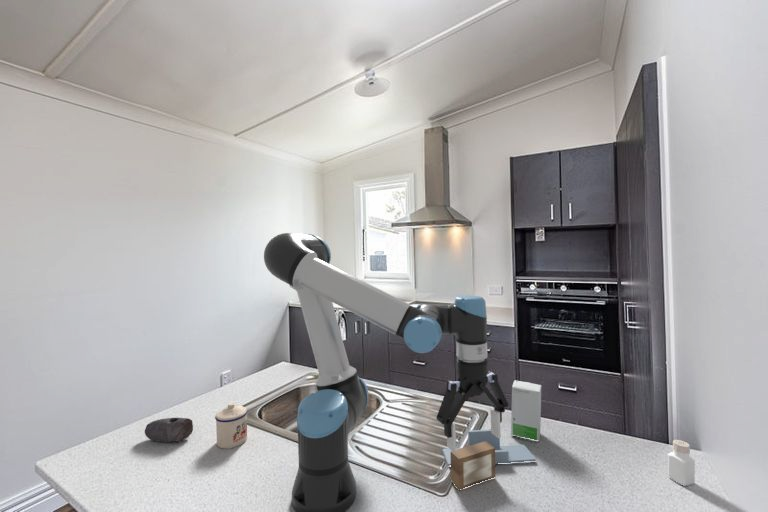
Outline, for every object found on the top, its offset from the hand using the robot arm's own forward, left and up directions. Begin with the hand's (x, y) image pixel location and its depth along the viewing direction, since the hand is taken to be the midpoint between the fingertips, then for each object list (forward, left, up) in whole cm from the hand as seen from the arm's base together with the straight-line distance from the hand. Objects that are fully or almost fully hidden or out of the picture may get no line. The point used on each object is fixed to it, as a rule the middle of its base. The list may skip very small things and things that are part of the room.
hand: (474, 442), depth 88 cm
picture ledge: (+7, +9, -10) cm, 15 cm away
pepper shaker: (+51, -4, -10) cm, 52 cm away
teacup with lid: (-68, +26, -10) cm, 74 cm away
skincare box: (+23, +20, -10) cm, 32 cm away
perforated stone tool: (-89, +27, -10) cm, 94 cm away
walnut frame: (0, 0, -10) cm, 10 cm away
